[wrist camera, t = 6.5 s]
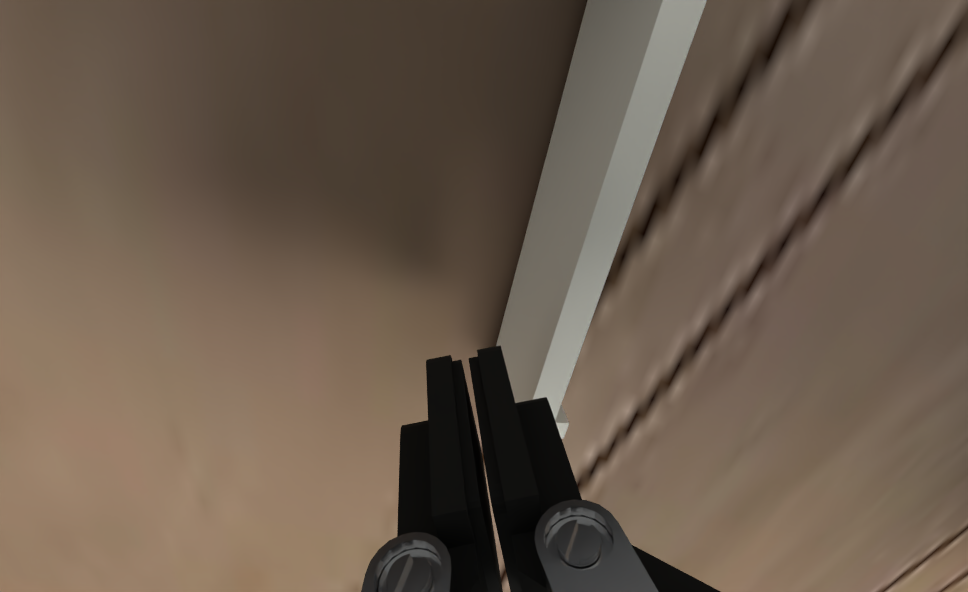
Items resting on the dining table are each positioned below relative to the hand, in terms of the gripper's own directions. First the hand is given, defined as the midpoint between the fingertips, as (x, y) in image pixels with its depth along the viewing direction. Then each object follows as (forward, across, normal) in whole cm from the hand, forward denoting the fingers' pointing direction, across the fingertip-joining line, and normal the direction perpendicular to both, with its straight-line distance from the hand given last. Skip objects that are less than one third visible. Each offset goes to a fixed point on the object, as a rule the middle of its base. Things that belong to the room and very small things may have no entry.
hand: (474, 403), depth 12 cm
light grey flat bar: (+5, -4, -3) cm, 7 cm away
